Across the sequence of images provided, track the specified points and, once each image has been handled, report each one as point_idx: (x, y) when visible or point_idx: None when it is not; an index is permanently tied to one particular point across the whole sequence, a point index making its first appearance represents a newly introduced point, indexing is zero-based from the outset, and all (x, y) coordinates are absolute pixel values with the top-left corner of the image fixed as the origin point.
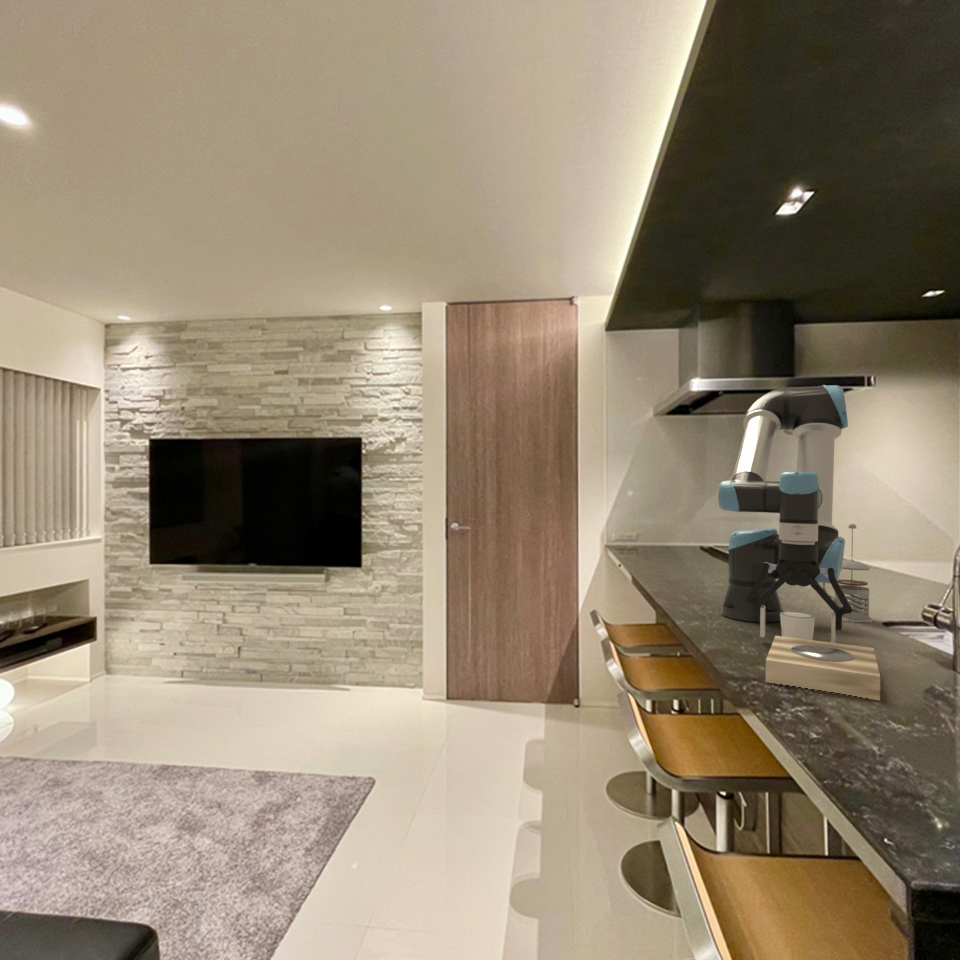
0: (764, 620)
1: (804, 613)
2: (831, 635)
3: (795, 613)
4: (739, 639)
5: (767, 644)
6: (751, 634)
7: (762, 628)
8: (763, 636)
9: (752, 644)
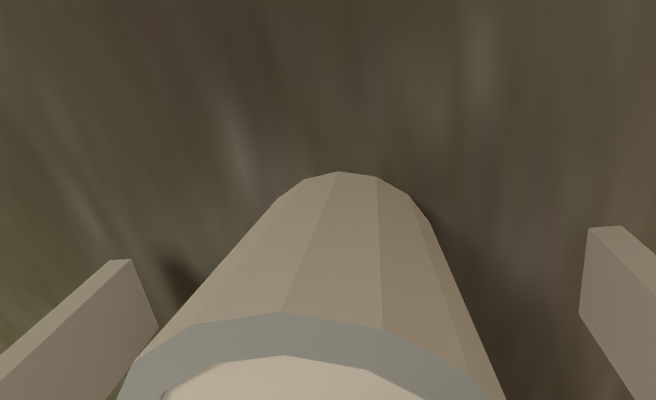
0: (69, 394)
1: (369, 367)
2: (624, 381)
3: None
4: (47, 282)
5: None
6: (4, 105)
7: (115, 373)
8: (153, 330)
9: None
